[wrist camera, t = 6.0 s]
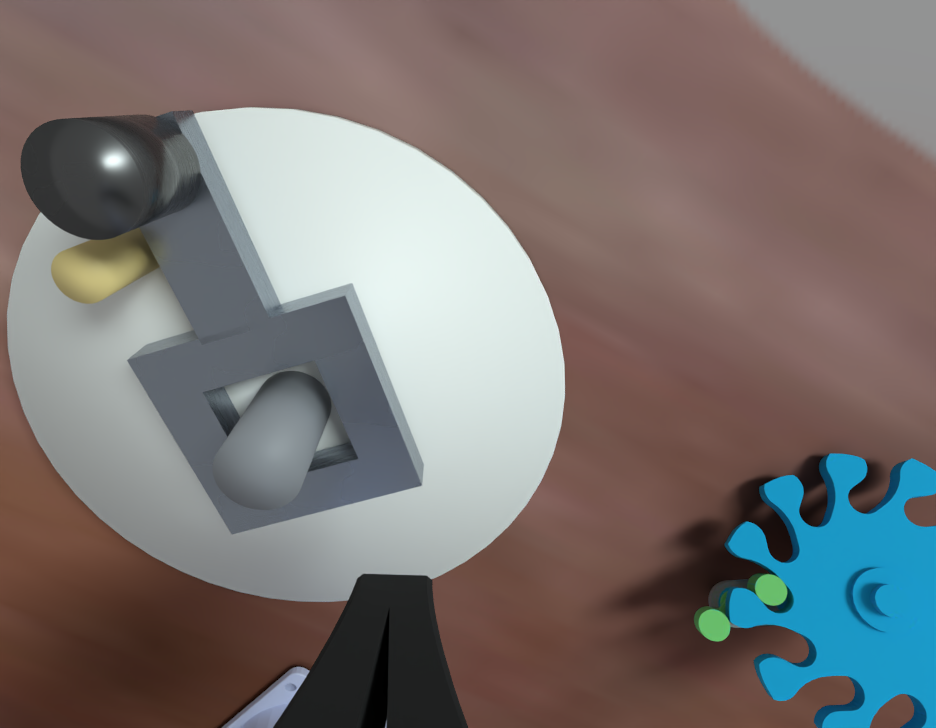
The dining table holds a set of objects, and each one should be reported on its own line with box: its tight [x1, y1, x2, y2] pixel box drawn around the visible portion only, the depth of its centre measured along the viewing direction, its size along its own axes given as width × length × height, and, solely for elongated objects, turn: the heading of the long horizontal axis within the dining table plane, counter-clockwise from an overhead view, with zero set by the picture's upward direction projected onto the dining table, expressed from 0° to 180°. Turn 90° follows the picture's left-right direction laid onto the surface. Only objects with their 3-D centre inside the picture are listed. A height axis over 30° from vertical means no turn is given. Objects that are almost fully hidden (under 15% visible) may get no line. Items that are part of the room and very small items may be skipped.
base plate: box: [7, 107, 565, 602], centre depth 18 cm, size 18×18×5 cm
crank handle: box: [21, 110, 424, 534], centre depth 16 cm, size 13×7×4 cm, turn 16°
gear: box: [694, 454, 936, 728], centre depth 22 cm, size 11×6×10 cm
